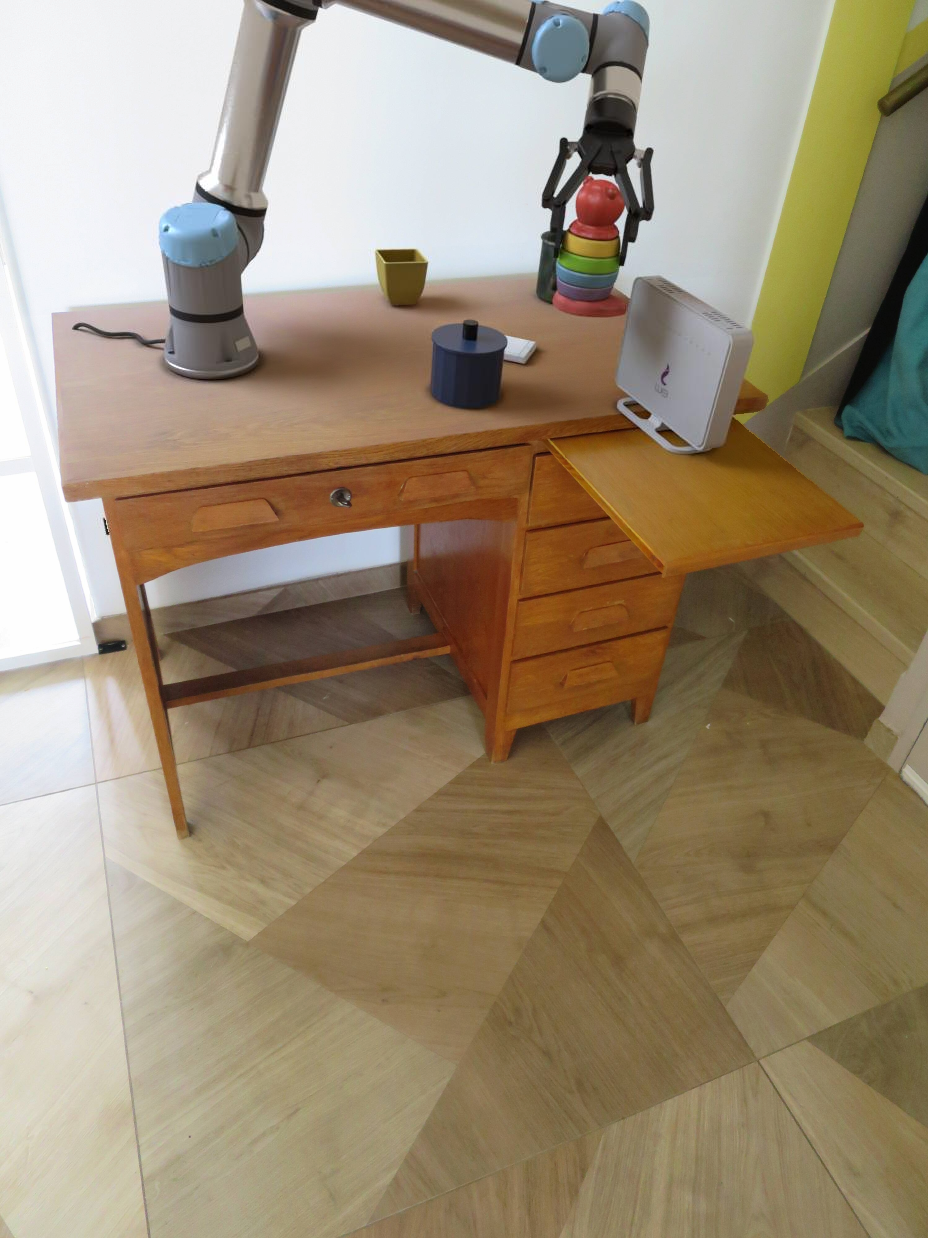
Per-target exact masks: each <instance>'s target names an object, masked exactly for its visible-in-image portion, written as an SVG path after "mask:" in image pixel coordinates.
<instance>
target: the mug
mask: <svg viewBox="0 0 928 1238" xmlns="http://www.w3.org/2000/svg"><path fill="white" fill-rule="evenodd" d="M566 230H567V229H563V233H562V239H561V244H562V240H563V237H564V234H565V232H566ZM556 234H557V233H550V230H547V231H544V232H542V233H541V235H540V239H541V249H540V257H539V264H538V265H539V266H538V272H537V279H536V287H535V294H536V296H537V297H538V298H539V299H540V300H542V301H544V302H546V303H550V304H553V297H554V295H555V293H556V291H557V290H558V288H557V274H556V262H557V258H553V256H554V246H555V240H556ZM560 246H561V245H560Z"/></svg>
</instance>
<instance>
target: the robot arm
mask: <svg viewBox="0 0 928 1238" xmlns="http://www.w3.org/2000/svg"><path fill="white" fill-rule="evenodd" d="M334 5H339V6H342V7H345V8H348V9H350V10H353V11H357V12H359V13H362V14H365V15H368V16H371V17H374V18H376V19H379V20H383V21H385V22H389V23H391V24H394V25H398V26H400V27H403V28H405V29H409V30H412V31H414V32H417V33H421V34H423V35H427V36H430V37H432V38H435V39H438V40H442V41H444V42H447V43H450V44H453V45H456V46H458V47H462V48H465V49H468V50H470V51H473V52H476V53H479V54H482V55H484V56H488V57H491V58H494V59H497V60H500V61H502V62H505V63H508V64H511V65H515V66H517V67H518V68H520V69H521V68H522V69H524V70H527V71H530V72H532V73H536V74H538V75H539V76H540V77H542V78H543V79H544V80H546V81H547V82H551V83H555V84H563V83H567V82H570V81H571V80H573V79H575V78H576V77H577V76H579V74H585V75H590V76H591V77H590V82H589V89H588V95H587V102H586V110H585V114H584V121H583V127H582V133H581V136H580V138H579V139H578V140H577V141H569V140H568V138H567V137H566V136H564V137H560V139H559V145H558V154H557V156H556V159H555V162H554V164H553V167H552V169H551V171H550V174H549V176H548V179H547V182H546V184H545V186H544V188H543V191H542V194H541V207H542V209H544V210H545V209H548V210H549V211H551V215H550V222H549V231H550V233H557V234H556V240H555V246H554V256H553V258H559V251H560V245H561V239H562V233H563V230H564V226H565V219H566V211H567V204H569V202H570V200H571V199H572V198H573V196H574V195H575V193H576V192H577V191H578V189H579V188H580V186H581V185H583V181H584V179H585V178H586V177H588V176H590V175H595V176H598V175H599V176H600V175H603V176H606V177H613V179H614V181H615V185H617V187H618V189H619V190H620V192H621V194H622V197H623V199H624V201H625V209H626V212H627V213H626V216H625V217H626V218H625V222H624V226H623V227H624V228H623V235H622V241H621V250H620V252H621V253H620V260H619V266H620V267H625V265H626V260H627V255H628V247H629V244H630V243H631V244H635V243H636V241H637V238H638V234H639V227H640V223H641V222H643V221H645V222H650V221H651V220H652V219H653V214H654V212H655V199H654V198H655V197H654V189H653V188H654V187H653V175H652V166H651V164H652V159H653V156H654V153H655V152H654V151H655V150H654V149H653V148H652V147H647V148H645V150H644V149H640V148H637V147H636V144H635V142H634V141H635V132H636V127H637V121H638V120H637V119H638V113H639V112H638V111H639V106H640V99H641V94H642V84H643V77H644V72H645V65H646V59H647V55H648V49H649V45H650V40H649V39H650V29H651V23H650V15H649V13H648V11H647V10H646V9H645V7H644V6H642V4H640V3H638V2H636V1H634V0H622V1H618V0H616V1H613V2H611V3H609V4H608V5H606V6H605V8H604V9H603V11H602V12H601V13H596V12H589V11H584V10H581V9H578V8H575V7H570V6H566V5H562V4H559V3H555V2H552V1H550V0H243V10H242V14H241V19H240V23H239V27H238V31H237V37H236V40H235V41H236V42H235V46H234V50H233V56H232V61H231V65H230V70H229V74H228V79H227V84H226V87H225V88H226V89H225V93H224V98H223V103H222V106H221V107H222V108H221V113H220V116H219V123H218V126H217V132H216V136H215V140H214V145H213V150H212V154H211V160H210V164H209V168H208V169H207V170H205V171H203V172H201V173H200V174H198V175H197V176H196V177H197V178H196V181H195V187H194V192H193V196H192V202H187V203H182V204H180V206H179V205H178V206H177V205H176V206H175V205H174V206H173V207H170V208H168V209H167V210H166V211H165V212H164V213H163V214H162V215H161V217H160V219H159V221H158V246H159V248H160V253H161V259H162V267H163V273H164V280H165V287H166V295H167V302H168V308H169V321H168V327H167V331H166V336H165V338H157V339H150V340H149V339H148V340H147V339H143V338H142V336H141V335H140V334H138V333H136V332H132V331H119V332H118V331H115V332H111V331H106V330H102V329H99V328H98V327H95V326H93V325H91V324H89V323H87V322H77V323H76V324H74V325H73V326H72V328H71V330H72V331H73V330H75V331H76V330H78V329H79V328H86V329H88V330H90V331H92V332H95V333H96V334H98V335H102V336H105V337H112V338H113V337H114V338H115V337H133V338H135V339H137V340H138V342H139V343H140V344H142V345H146V346H147V345H156V344H157V345H158V344H164V346H163V357H164V358H163V359H164V364H165V366H166V367H167V368H168V369H169V370H170V371H171V372H173V373H175V374H177V375H179V376H184V377H187V378H191V379H198V380H199V379H200V380H220V379H227V378H228V379H229V378H234V377H238V376H241V375H244V374H247V373H248V372H250V371H252V370H254V369H255V368H256V367H257V365H258V364H259V360H260V359H259V358H260V357H259V350H258V345H257V342H256V339H255V337H254V335H253V333H252V330H251V327H250V326H249V322H248V321H247V318H246V316H245V309H244V297H243V296H244V295H243V284H242V283H243V282H242V275H243V273H244V272H245V270H246V269H247V267H248V266H249V265H250V263H251V262H252V261H253V260H254V259H255V258H256V257H257V256H258V255H257V254H258V253H259V252H260V250H261V248H262V246H263V243H264V238H265V220H266V215H267V211H268V207H269V199H268V197H267V196H266V194H265V192H264V190H263V187H264V184H265V180H266V177H267V172H268V168H269V164H270V160H271V155H272V153H273V147H274V145H275V144H274V143H275V141H276V136H277V131H278V128H279V123H280V120H281V116H282V113H283V112H282V111H283V108H284V104H285V100H286V96H287V91H288V88H289V83H290V80H291V76H292V73H293V68H294V65H295V60H296V57H297V51H298V49H299V45H300V40H301V37H302V32H303V30H304V29H305V28H307V27H309V26H311V25H313V24H314V23H316V21H317V16H318V13H319V9H322V10H327V9H329V8H330V7H332V6H334ZM574 153H577V154H578V156H579V158H580V161H579V164H578V166H577V167H576V168H575V170H574V171H573V172H572V174H571V176H570V177H569V178H568V179H567V181H566V182H565V184H564V185H563V186H562V187H561V189H560V190H559V192H558V193H557V194H556V196H555V193H556V191H557V188H558V186H559V184H560V181H561V178H562V176H563V174H564V171H565V170H566V169H565V168H566V165H567V161H568V160H570V159H572V157H573V155H574ZM632 160H635V163H636V164H635V165H636V166H637V168H639V169H640V170H639V184H640V195H641V205H640V202H639V199H638V197H637V194H636V191H635V188H634V186H633V183H632V180H631V178H630V174H629V172H628V166H627V165H628V164H629V163H630V162H632ZM105 518H106V517H102V521H103V527H104V531H105V535H106V536H109V535H110V534H109V533H110V531H109V532H108V529H107V525H106V520H105Z"/></svg>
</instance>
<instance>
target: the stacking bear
mask: <svg viewBox="0 0 928 1238" xmlns="http://www.w3.org/2000/svg"><path fill="white" fill-rule="evenodd" d="M574 206H575V214H576V219H574V220H573V221H572V222H571V223H570V224H569V225H568V228H567V229H565V230H566V232H565V234H564V237H563V240H562V244H561V246H560V251H559V258H557V262H556V274H557V288H558V290H557V291H556V293H555V295H554V297H553V303H552V304H553V305H552V306H553V307H554V308H556V310H558V311H560V312H562V313H565V314H568V315H571V316H572V315H573V316H577V317H584V318H600V319H601V318H614V317H620V316H625V314H626V313H627V303H625V302H624V301H623V300H622V299H621V298H619V297H617V296H616V295H613V294H612V291H613V289H614V287H615V283H616V282H617V279H618V276H619V273H620V268H621V266H619V260H620V253H621V247H622V241H621V236H620V233H621V232H620V230H619V228H618V226H617V224H615V223H616V222H618V220H619V219H620V218H621V216H622V215H623V213H624V210H625V209H626V206H625V201H624V199H623V197H622V194H621V192H620V190H619V187H618V185H617V184H616V183H614V182H612V181H611V180H607V179H602V178H601V179H595V178H594V177H593V176H592V175H589V176H588V177H586V178H585V179H584V181H583V182H582V186H581V187H580V189H579V190H578V192H577V194H576V197H575V205H574Z"/></svg>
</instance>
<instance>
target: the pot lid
mask: <svg viewBox="0 0 928 1238" xmlns="http://www.w3.org/2000/svg"><path fill="white" fill-rule="evenodd" d="M462 321H463V322H462V323H461V322H459V323H458V322H457V323H449V324H444V325H441V326H438V327H437V328H435V329H433V331H432V332H431V335H430V337H431V338H430V340H431V342H432V344H433V343H434V344H435V345H436V346H437V347H439V348H441V349H443V350H445V351H448V352H451V353H454V354H459V355H466V356H487V355H493V354H496V353H499V352H501V351H503V350H504V349H505V348H506V347H507V343H508V340H507V338H506V336H507V335H506V334H504V333H503V332H502V331H500V330H498V329H495V328H493V327H490V326H486V325H482V324H479V321H478V320H476V319H470V318H469V319H464V320H462ZM505 335H506V336H505Z"/></svg>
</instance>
